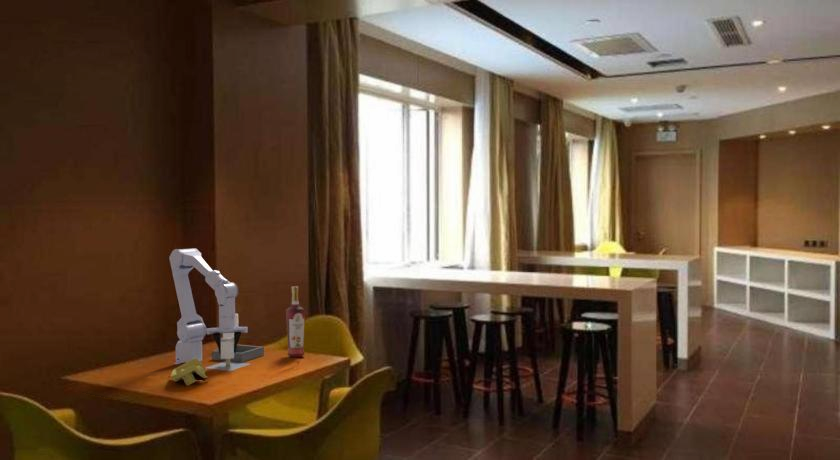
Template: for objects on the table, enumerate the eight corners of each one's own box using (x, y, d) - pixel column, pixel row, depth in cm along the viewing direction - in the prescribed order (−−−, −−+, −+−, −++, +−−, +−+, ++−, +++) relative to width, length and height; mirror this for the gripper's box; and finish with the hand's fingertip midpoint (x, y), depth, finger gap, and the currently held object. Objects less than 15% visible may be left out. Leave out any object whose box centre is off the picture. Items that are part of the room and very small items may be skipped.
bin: (212, 362, 274) (211, 351, 274) (234, 355, 287) (234, 344, 287) (242, 365, 268) (241, 353, 268) (263, 358, 281) (263, 346, 281)
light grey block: (220, 359, 260) (220, 339, 259) (221, 356, 264) (221, 337, 264) (233, 358, 260) (233, 339, 260) (234, 355, 265) (234, 337, 265)
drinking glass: (242, 349, 300) (241, 313, 300) (231, 352, 294) (231, 315, 294) (229, 347, 303) (228, 312, 303) (218, 350, 297) (218, 315, 296)
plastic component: (173, 369, 253) (199, 355, 255) (183, 387, 253) (209, 373, 256) (169, 378, 233) (197, 362, 236) (179, 397, 234) (208, 382, 237)
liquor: (290, 359, 278) (289, 288, 277) (284, 356, 284) (282, 286, 283) (308, 357, 281) (307, 287, 280) (301, 354, 288) (300, 285, 287)
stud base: (204, 371, 259) (203, 356, 259) (225, 364, 270) (224, 350, 270) (231, 374, 254) (230, 358, 254) (251, 367, 266) (251, 352, 265)
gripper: (205, 318, 256) (206, 355, 257) (247, 316, 259) (247, 353, 260) (207, 315, 263) (207, 352, 264) (247, 314, 266) (248, 350, 267)
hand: (227, 352), depth 262 cm, fingers closed on light grey block, 5 cm apart
